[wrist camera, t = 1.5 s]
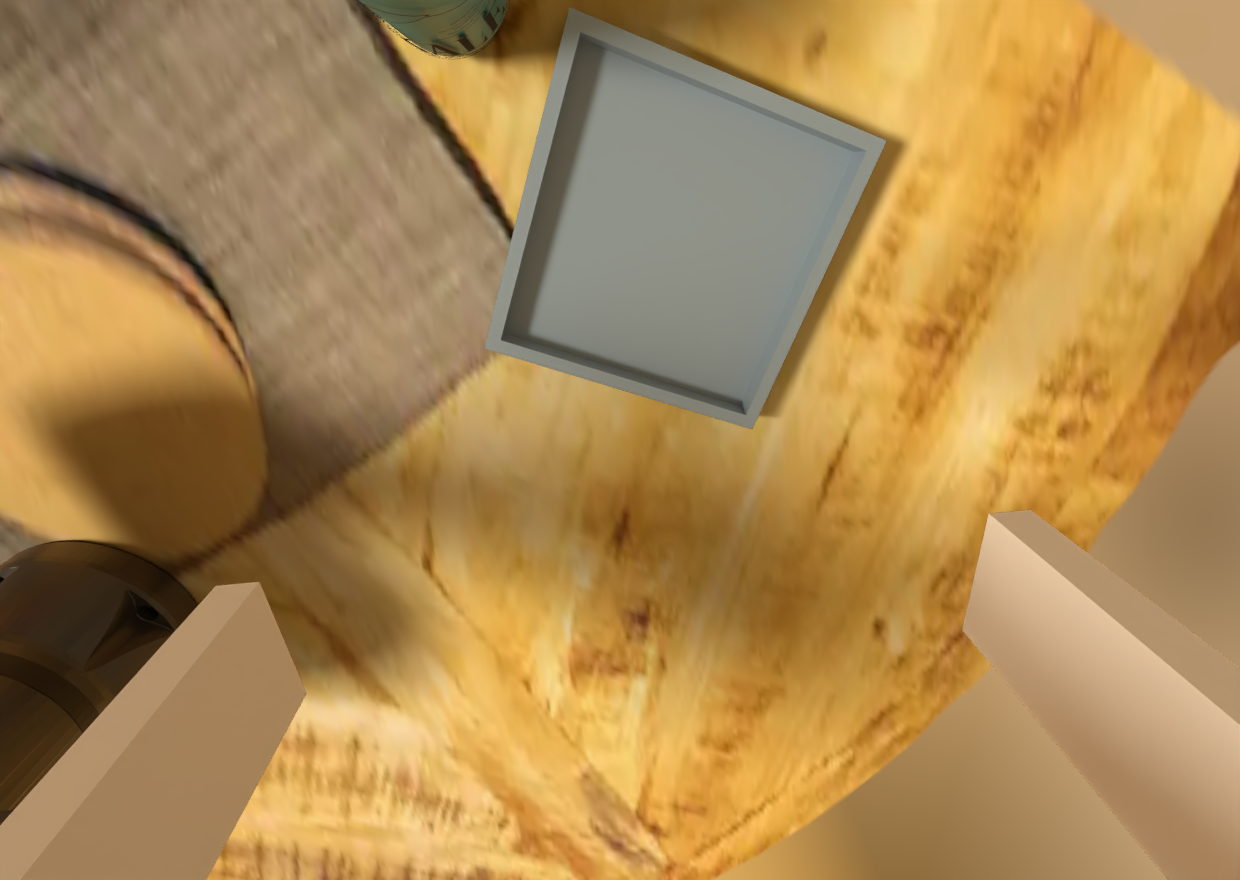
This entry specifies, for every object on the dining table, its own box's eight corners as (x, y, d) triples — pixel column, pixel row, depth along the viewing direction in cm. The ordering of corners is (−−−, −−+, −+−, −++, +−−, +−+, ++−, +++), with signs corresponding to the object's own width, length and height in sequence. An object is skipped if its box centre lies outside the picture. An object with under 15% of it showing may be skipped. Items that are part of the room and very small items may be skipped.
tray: (490, 337, 37) (484, 348, 35) (570, 19, 30) (569, 6, 28) (742, 415, 41) (752, 429, 38) (866, 142, 34) (886, 140, 31)
